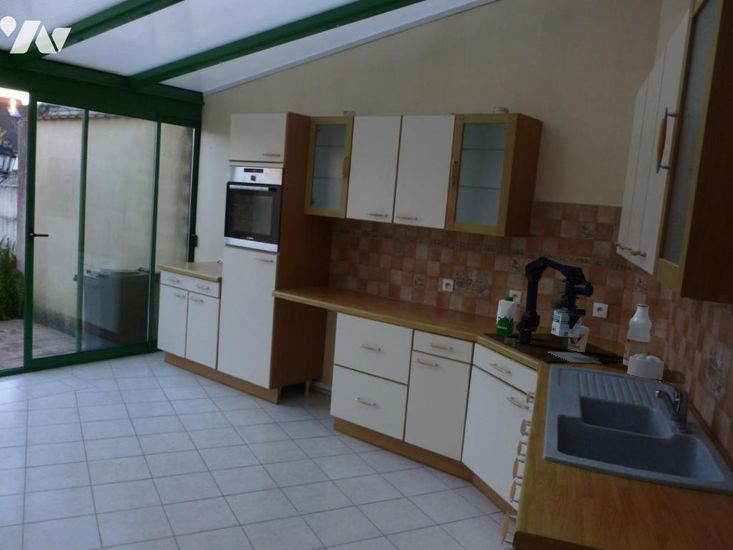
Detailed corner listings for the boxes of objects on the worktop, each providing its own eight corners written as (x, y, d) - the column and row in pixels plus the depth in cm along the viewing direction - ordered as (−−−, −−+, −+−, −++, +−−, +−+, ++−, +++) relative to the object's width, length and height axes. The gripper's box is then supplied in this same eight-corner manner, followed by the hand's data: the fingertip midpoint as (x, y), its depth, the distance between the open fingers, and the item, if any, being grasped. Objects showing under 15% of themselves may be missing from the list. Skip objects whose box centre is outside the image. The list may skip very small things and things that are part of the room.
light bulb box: (558, 336, 271) (561, 312, 270) (550, 333, 278) (553, 310, 277) (579, 337, 274) (582, 314, 273) (571, 334, 281) (574, 311, 280)
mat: (548, 352, 283) (548, 351, 283) (577, 354, 287) (577, 353, 287) (570, 362, 265) (571, 361, 265) (602, 364, 270) (602, 362, 270)
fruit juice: (634, 368, 267) (644, 305, 265) (618, 363, 276) (627, 302, 273) (650, 368, 271) (659, 306, 268) (633, 363, 280) (642, 303, 277)
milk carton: (514, 335, 319) (519, 298, 317) (509, 337, 311) (514, 299, 309) (497, 332, 323) (502, 295, 321) (492, 334, 315) (497, 296, 313)
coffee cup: (562, 349, 295) (566, 325, 294) (571, 348, 302) (574, 324, 300) (580, 354, 288) (584, 329, 287) (589, 352, 295) (593, 328, 294)
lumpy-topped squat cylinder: (664, 380, 250) (667, 360, 250) (633, 377, 250) (636, 356, 250) (653, 374, 261) (656, 354, 260) (622, 370, 261) (625, 350, 260)
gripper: (543, 289, 281) (539, 323, 283) (566, 295, 263) (561, 330, 265) (565, 291, 284) (560, 324, 285) (589, 297, 266) (584, 332, 267)
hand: (566, 327), depth 276 cm, fingers closed on light bulb box, 7 cm apart
